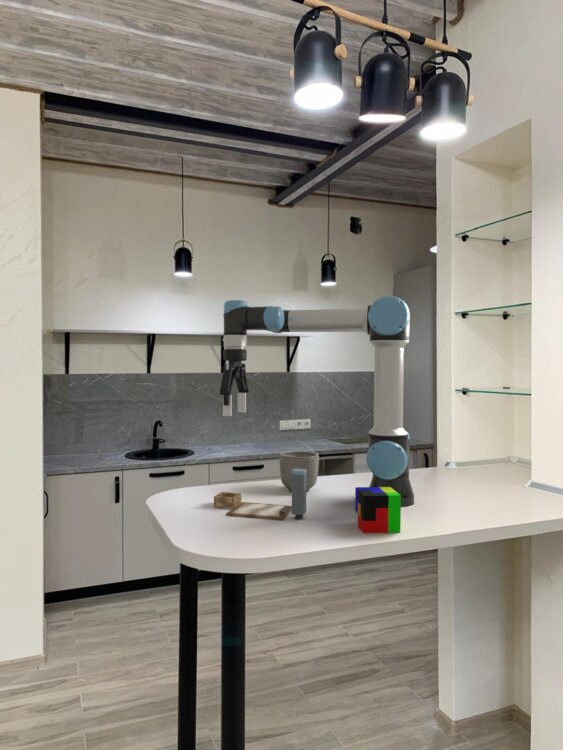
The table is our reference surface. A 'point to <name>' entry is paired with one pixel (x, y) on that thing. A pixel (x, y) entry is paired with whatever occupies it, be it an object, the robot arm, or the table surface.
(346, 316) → the robot arm
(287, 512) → the clipboard
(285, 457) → the planter
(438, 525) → the table surface
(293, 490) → the blue-grey tall block
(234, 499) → the holder
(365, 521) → the puzzle toy
